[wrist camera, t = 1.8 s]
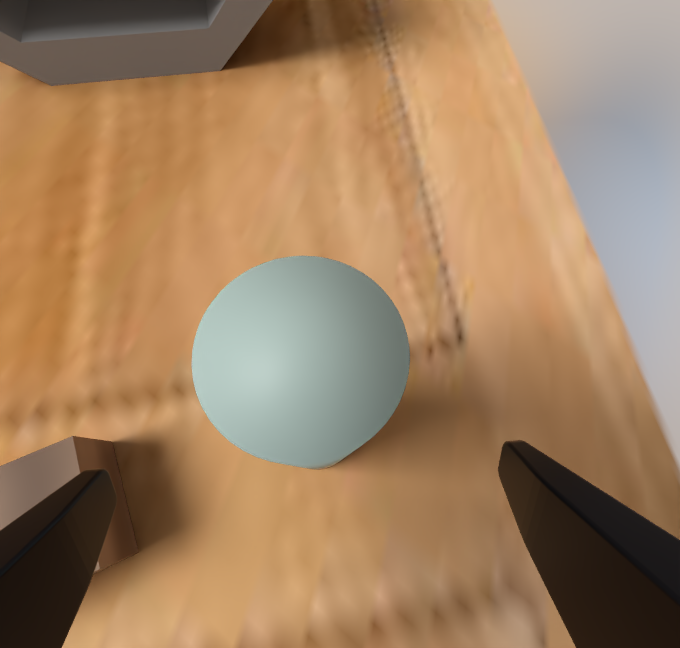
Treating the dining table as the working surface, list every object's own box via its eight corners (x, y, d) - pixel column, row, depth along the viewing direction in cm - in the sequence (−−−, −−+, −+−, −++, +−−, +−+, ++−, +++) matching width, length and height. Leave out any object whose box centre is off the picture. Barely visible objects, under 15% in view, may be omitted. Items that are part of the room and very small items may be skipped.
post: (366, 448, 18) (449, 403, 6) (296, 483, 18) (234, 508, 5) (335, 381, 19) (353, 229, 7) (269, 411, 19) (165, 299, 7)
